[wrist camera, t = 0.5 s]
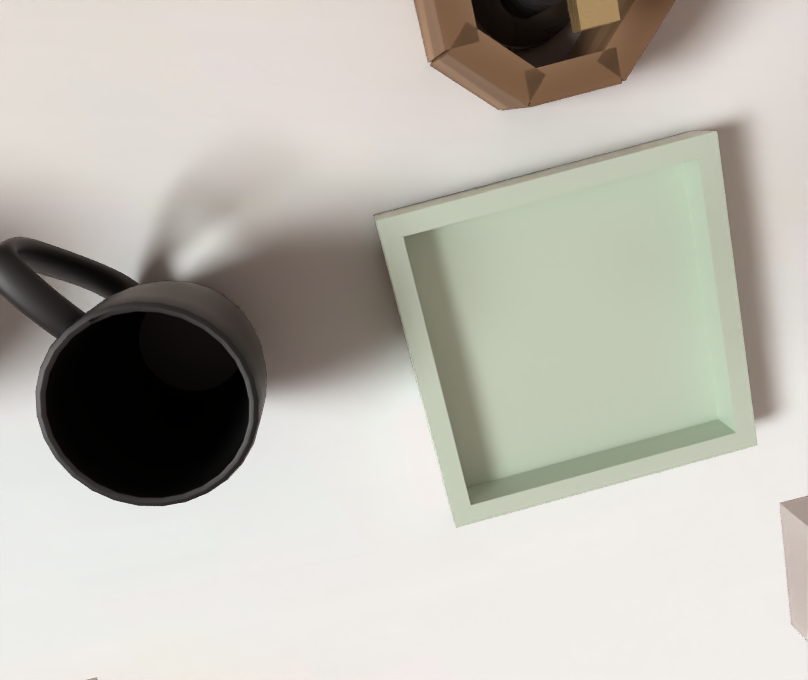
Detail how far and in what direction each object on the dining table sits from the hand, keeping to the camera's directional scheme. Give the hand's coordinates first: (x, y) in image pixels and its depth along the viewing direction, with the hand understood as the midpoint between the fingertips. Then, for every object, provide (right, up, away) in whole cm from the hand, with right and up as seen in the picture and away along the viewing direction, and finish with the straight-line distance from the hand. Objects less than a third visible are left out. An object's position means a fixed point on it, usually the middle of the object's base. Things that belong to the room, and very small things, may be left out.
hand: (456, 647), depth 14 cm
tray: (+7, +6, +25) cm, 27 cm away
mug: (-13, +7, +23) cm, 27 cm away
